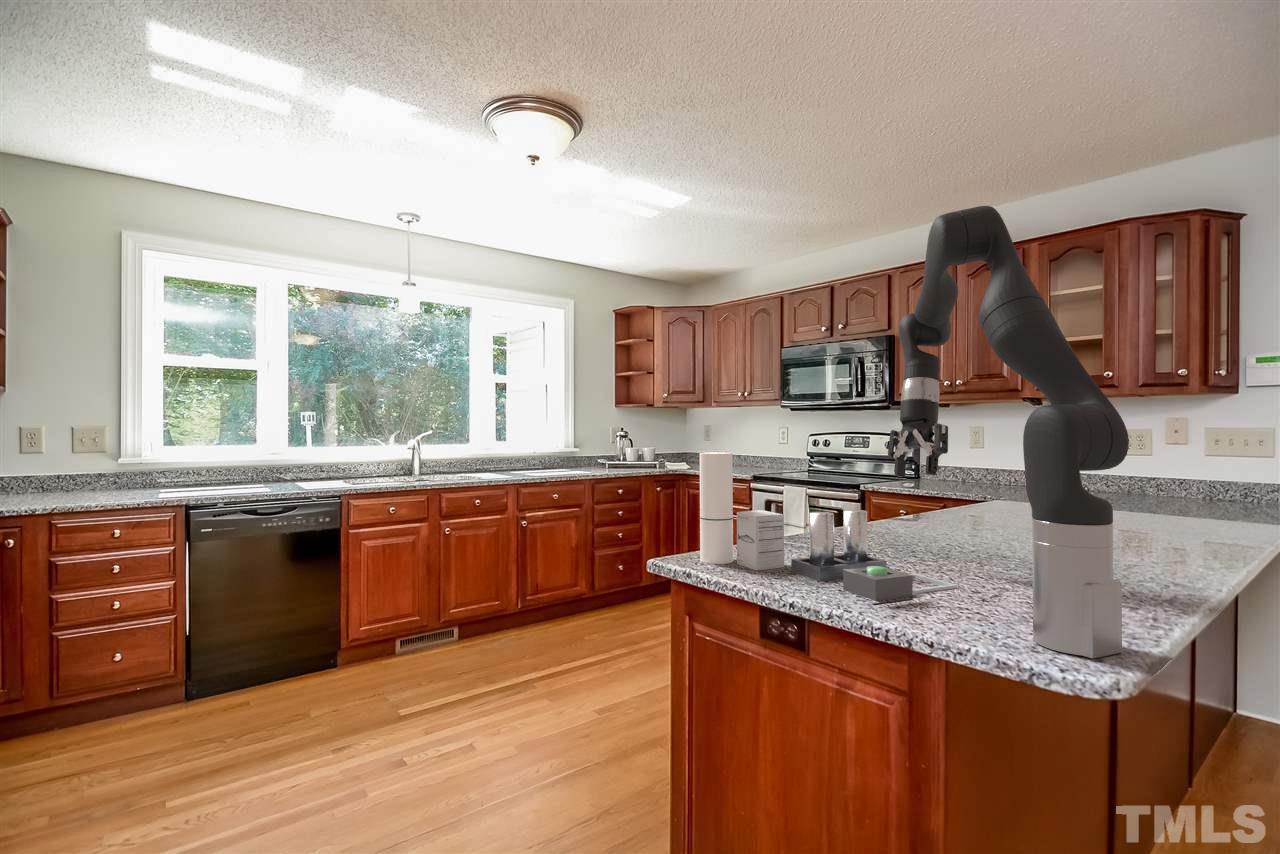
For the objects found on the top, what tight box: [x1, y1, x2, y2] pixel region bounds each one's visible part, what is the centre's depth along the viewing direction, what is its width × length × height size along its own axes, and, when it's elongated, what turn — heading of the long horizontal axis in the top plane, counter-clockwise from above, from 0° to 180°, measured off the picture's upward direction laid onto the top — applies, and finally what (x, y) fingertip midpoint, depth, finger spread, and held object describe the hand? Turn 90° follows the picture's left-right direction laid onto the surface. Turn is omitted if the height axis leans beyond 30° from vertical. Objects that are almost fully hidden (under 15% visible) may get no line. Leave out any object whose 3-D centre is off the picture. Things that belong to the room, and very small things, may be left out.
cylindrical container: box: [699, 451, 734, 565], centre depth 137 cm, size 7×7×25 cm
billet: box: [842, 509, 869, 563], centre depth 126 cm, size 5×5×12 cm
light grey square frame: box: [908, 572, 958, 595], centre depth 115 cm, size 10×10×2 cm
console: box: [842, 567, 914, 606], centre depth 109 cm, size 8×8×5 cm
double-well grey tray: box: [790, 553, 888, 583], centre depth 125 cm, size 9×16×4 cm, turn 112°
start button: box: [867, 566, 888, 576], centre depth 109 cm, size 3×3×3 cm
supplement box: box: [736, 509, 785, 571], centre depth 132 cm, size 7×7×13 cm
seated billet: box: [809, 511, 835, 566], centre depth 123 cm, size 5×5×12 cm
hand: (914, 475), depth 132 cm, fingers open, 8 cm apart
